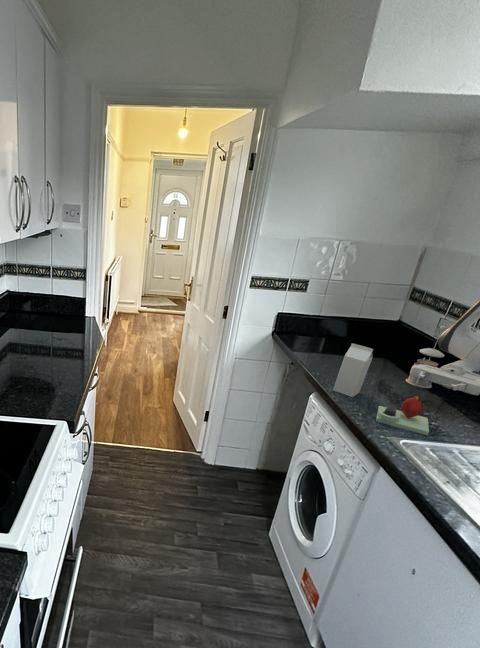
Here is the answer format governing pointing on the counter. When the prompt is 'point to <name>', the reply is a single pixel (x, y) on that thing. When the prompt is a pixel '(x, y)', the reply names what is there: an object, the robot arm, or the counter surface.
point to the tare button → (390, 412)
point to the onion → (412, 407)
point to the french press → (431, 353)
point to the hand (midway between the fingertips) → (436, 382)
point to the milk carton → (353, 370)
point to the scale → (404, 421)
